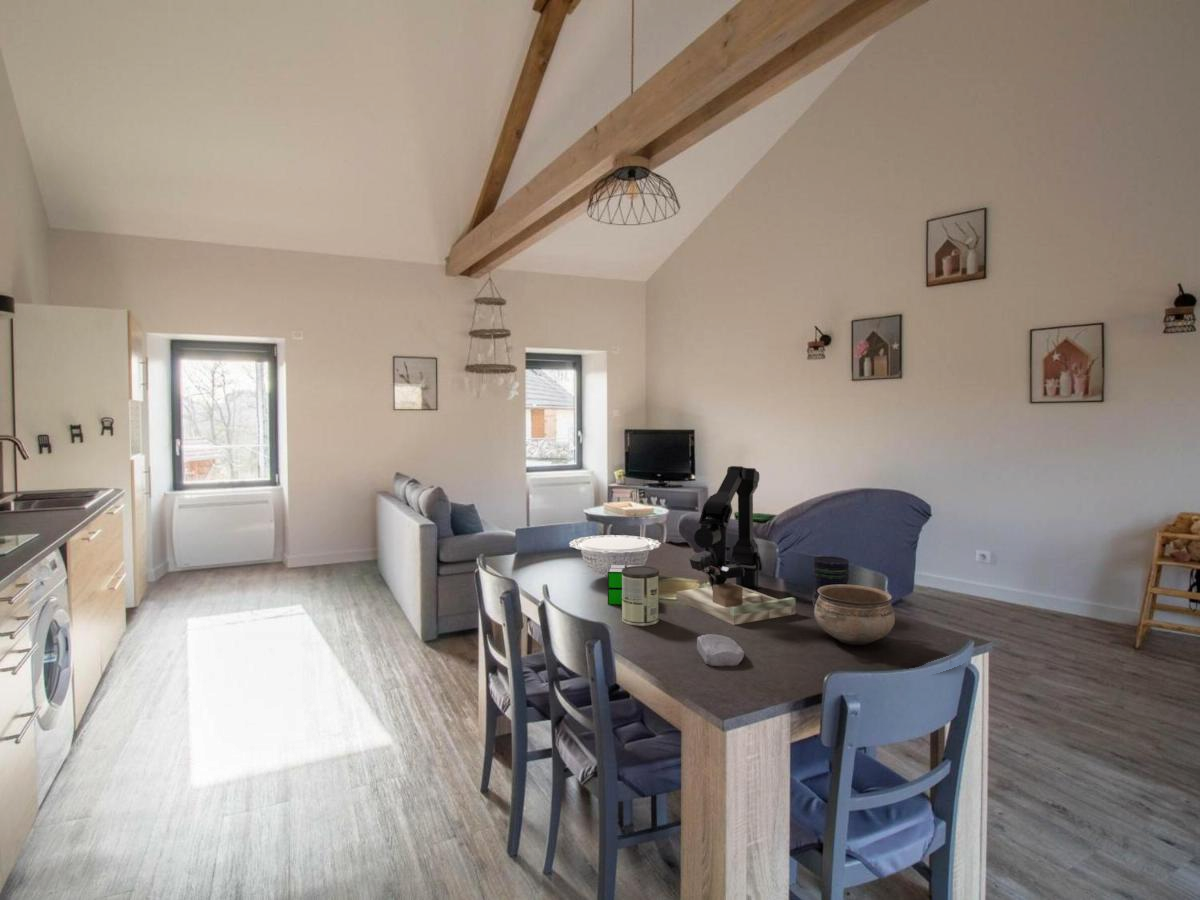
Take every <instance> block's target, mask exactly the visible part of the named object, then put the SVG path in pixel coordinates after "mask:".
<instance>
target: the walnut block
mask: <svg viewBox="0 0 1200 900" xmlns="http://www.w3.org/2000/svg"><path fill="white" fill-rule="evenodd" d="M734 584H735V583H732V582H725V583H724V584H716V585H713V602H714V603H716V604H719V605H721V606H723V607H731V606H737V605H742V595H743V587H740V586H737V585H734Z"/></svg>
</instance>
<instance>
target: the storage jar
mask: <svg viewBox="0 0 1200 900" xmlns="http://www.w3.org/2000/svg"><path fill="white" fill-rule="evenodd" d="M849 564H850V561H849V560H848V559H846V558H843V557H838V556H826V555H825V556H817V557H814V558H813V567H812V568H813V569H812V570H813V571H812V572H813V573H812V576H813V590H812V605H813V606H812V611H813V612H814V608H815V604H816V601H817V599H818V597H819V595H820V594H819V593H818V589H819V588H820V587H823V586H827V585H839V584H844V585H849V584H848V582H849V581H850V579H849V578H850V577H849V575H850V565H849Z"/></svg>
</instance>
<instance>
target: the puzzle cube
mask: <svg viewBox="0 0 1200 900" xmlns="http://www.w3.org/2000/svg"><path fill="white" fill-rule="evenodd" d="M609 566H610V565H609ZM631 566H638V564H637V565H636V564H634V565H627V566H626V565H611V566H610V567H609V571H608V576H607V605H609V606H610V605H611V606H622V569H623V568H626V567H631Z"/></svg>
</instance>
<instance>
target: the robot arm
mask: <svg viewBox="0 0 1200 900" xmlns="http://www.w3.org/2000/svg"><path fill="white" fill-rule="evenodd" d="M726 469H727V470H726V475H725V476H724V478H723V480H722V482H721V484H720V486H719V488H718V490H717V492H715V493H714V494H712V495H710V496H709V498H707V500H706V501H705V503H704V505H703V507H702V510H701V514H700V517H699V521H698V522H699V523H698V524H700V528H699V529H697V530H696V532H695V533H694V535H693V536H694V538H693V539H694V541H695V543H696V545H697V546H698V547H699V548H701V549H702V551H701V552H700V551H699V552H697V553H696V554H694V555H692V556H691V557H689V558H688V559H689V562H690V566H691V569H692V570H697V571H698V572H702V573H704V574H705V575H706V576H707V578H708V580H709V583H710V587H712V590H713V585H716V584H724V583H726V581H727V579H733V578H734V579H735V578H736V579H735V580H736V582H735V584H736V585H739V586H741V587H744V588H747V589H750V590H756V589H762V586H761V585H759V572H760V571H763V567H764V566H763V565H764V562H763V560H762V557H761V554H760V552H759V546H758V544H757V542H756V540H755V539H754V504H753V503H754V493H755V492H756V490H757V488H758V487H759V482H760V473H759V471H757V469H756V468H754V467H744V466H740V465H739V466H738V465H737V466H736V465H731V466H728V467H727V468H726ZM736 494H737V508H738V509H737V511H738V512H737V516H738V517H737V523H738V524H737V526H738V527H737V529H738V530H737V531H738V532H737V533H738V535H737V536H738V537H737V541H736V542H735V544H734V545H733V546H732V552H731V553H732V554H731V561H732V564H730V560H729V559H727V554H728V551H730V550H731V546H729V545H728V526H729V522H730V519H731V517H732V515H733V507H732V501H733V498H734V497H735V495H736Z"/></svg>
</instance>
